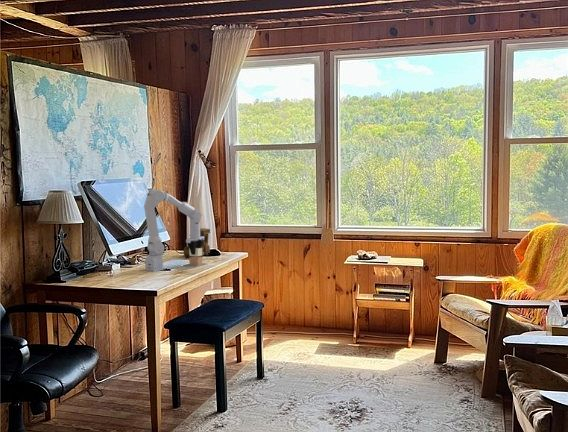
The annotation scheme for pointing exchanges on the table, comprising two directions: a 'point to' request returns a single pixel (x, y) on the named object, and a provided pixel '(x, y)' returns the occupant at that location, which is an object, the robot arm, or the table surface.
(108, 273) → the table surface
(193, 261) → the baseplate
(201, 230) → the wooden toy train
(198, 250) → the cream brick
